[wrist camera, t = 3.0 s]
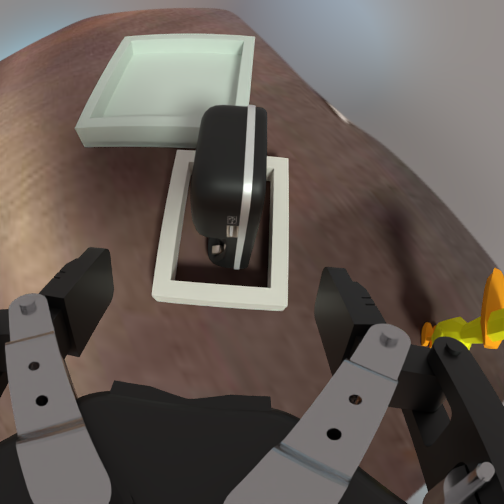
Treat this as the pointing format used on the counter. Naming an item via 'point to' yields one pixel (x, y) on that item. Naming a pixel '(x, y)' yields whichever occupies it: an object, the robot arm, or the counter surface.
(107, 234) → the counter surface
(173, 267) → the white rectangular frame
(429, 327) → the toy figure
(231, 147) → the battery charger
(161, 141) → the tray
